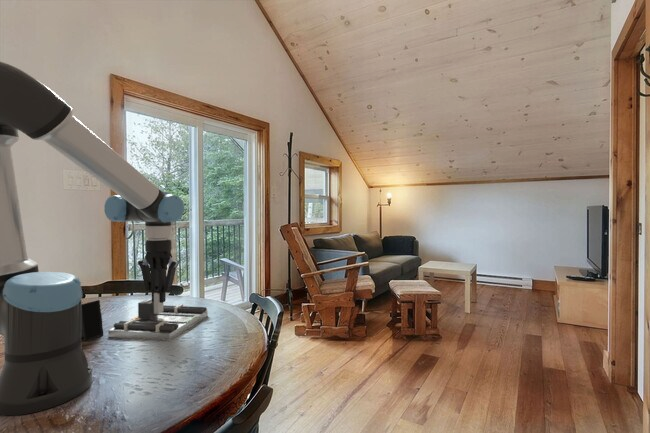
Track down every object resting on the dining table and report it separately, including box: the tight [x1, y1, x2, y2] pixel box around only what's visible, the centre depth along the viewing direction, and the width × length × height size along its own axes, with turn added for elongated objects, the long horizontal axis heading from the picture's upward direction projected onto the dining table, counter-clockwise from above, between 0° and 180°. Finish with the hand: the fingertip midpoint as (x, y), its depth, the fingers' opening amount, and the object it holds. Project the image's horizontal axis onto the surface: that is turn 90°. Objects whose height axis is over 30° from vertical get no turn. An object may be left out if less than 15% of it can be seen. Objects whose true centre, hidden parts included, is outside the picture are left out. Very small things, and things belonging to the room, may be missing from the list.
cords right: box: [163, 303, 208, 313], centre depth 113 cm, size 4×19×2 cm, turn 83°
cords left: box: [113, 318, 178, 332], centre depth 96 cm, size 4×19×2 cm, turn 82°
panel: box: [107, 309, 209, 342], centre depth 104 cm, size 22×19×2 cm
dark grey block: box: [137, 298, 158, 319], centre depth 106 cm, size 4×4×5 cm
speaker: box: [81, 299, 104, 342], centre depth 96 cm, size 8×6×10 cm
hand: (158, 312), depth 105 cm, fingers closed
